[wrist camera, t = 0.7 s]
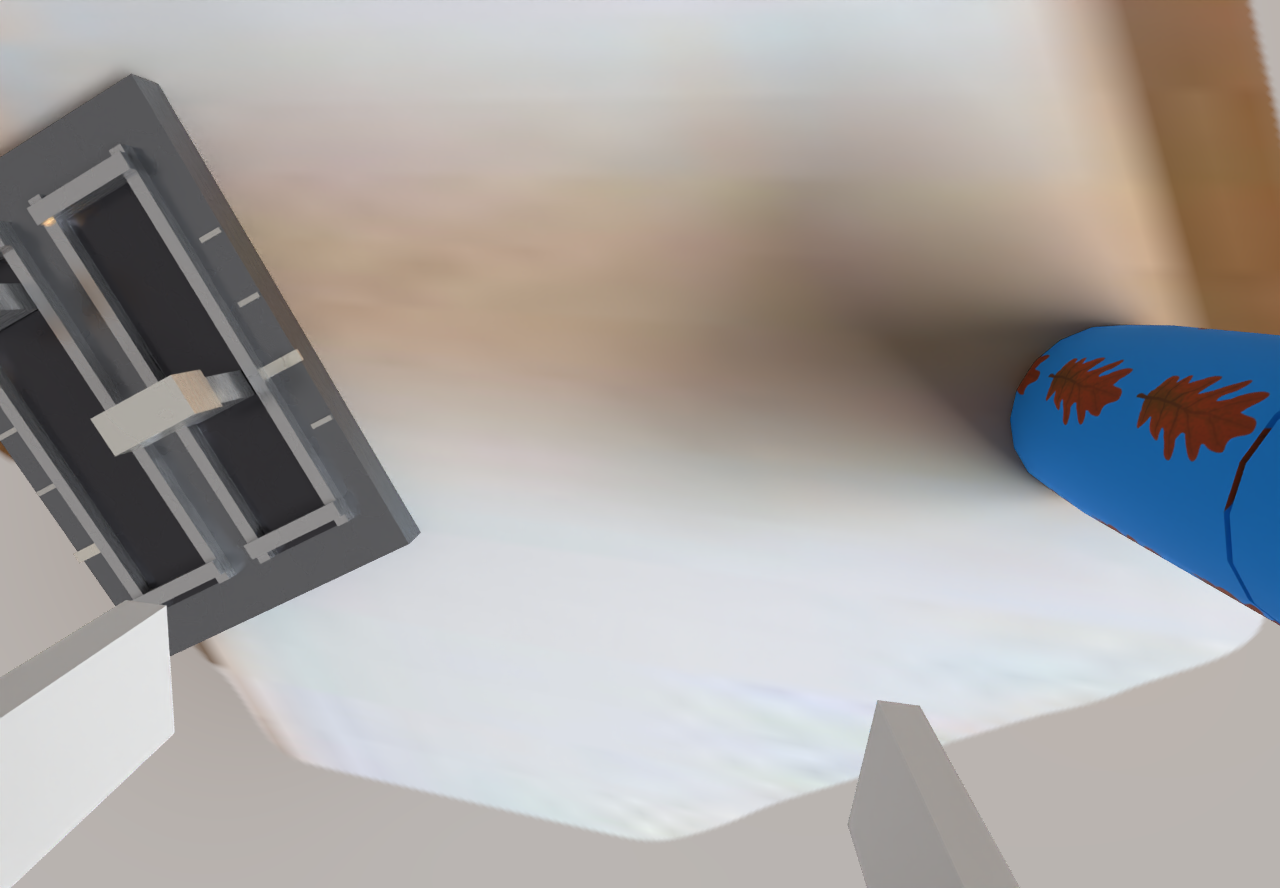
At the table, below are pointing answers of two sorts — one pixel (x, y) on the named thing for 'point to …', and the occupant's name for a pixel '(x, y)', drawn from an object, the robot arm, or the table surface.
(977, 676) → the table surface
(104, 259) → the console
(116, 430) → the fader
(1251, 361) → the thermos
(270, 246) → the table surface
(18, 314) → the fader
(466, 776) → the table surface
